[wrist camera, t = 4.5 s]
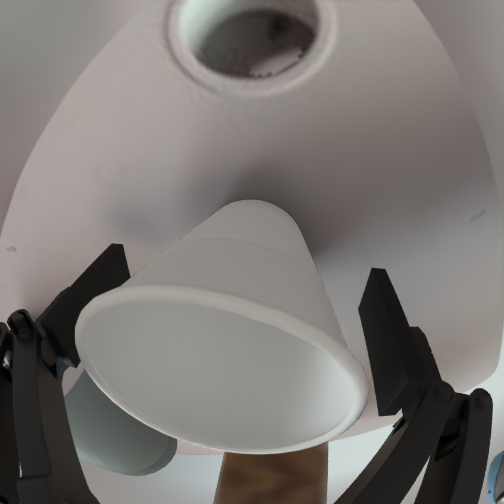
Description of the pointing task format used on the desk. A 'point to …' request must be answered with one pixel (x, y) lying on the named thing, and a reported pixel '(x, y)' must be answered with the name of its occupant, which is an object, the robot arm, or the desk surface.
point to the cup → (227, 339)
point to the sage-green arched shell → (110, 429)
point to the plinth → (274, 477)
